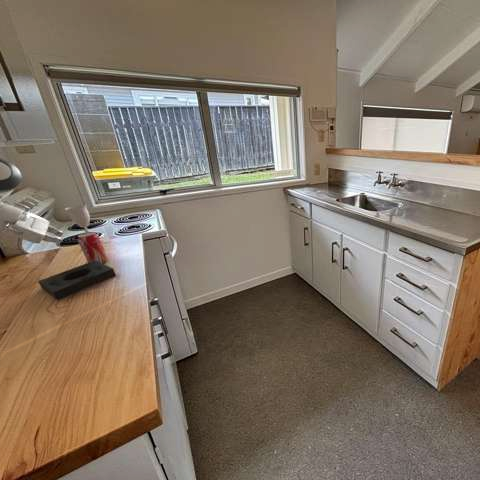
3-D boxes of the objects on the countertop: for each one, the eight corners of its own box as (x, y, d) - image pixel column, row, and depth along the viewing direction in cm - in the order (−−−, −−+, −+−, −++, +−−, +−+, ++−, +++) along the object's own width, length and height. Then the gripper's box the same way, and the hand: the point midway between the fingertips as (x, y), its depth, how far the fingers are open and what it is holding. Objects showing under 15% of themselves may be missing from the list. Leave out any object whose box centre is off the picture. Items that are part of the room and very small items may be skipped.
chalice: (82, 249, 115) (64, 210, 108) (82, 244, 120) (65, 207, 112) (102, 244, 119) (86, 206, 112) (102, 240, 124) (87, 203, 117)
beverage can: (84, 265, 100) (71, 237, 95) (100, 257, 105) (88, 230, 101) (97, 266, 98) (84, 237, 94) (112, 258, 104) (101, 231, 99)
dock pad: (57, 300, 79) (53, 292, 78) (42, 288, 85) (37, 281, 84) (116, 275, 91) (113, 268, 90) (98, 267, 98) (95, 260, 97)
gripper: (8, 218, 77) (66, 238, 87) (19, 205, 91) (67, 224, 101) (-6, 236, 76) (54, 254, 86) (7, 220, 91) (57, 237, 100)
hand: (61, 237), depth 94 cm, fingers open, 8 cm apart
